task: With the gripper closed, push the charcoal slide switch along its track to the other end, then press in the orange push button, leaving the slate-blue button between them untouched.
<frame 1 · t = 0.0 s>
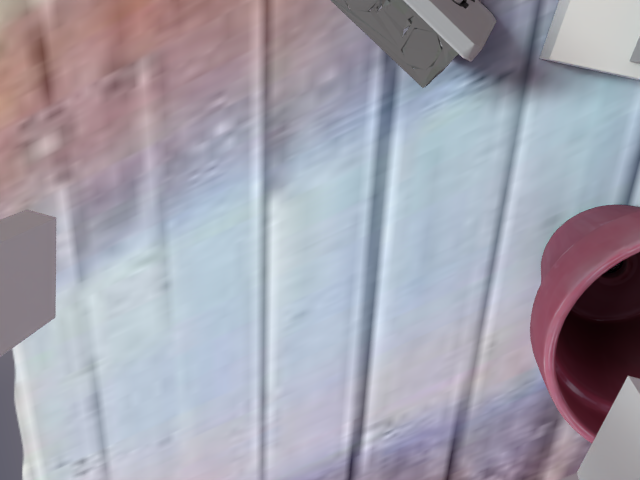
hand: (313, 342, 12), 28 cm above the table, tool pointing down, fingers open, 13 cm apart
plant pot: (606, 262, 38), on the table
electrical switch: (419, 7, 34), on the table
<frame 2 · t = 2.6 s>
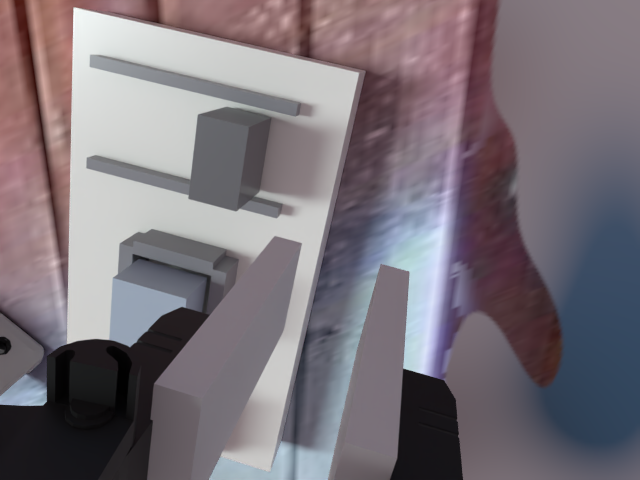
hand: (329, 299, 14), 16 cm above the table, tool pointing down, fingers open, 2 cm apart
slide switch: (231, 156, 25), point 5 cm above the table, slide at 0.0 cm
switch panel: (205, 252, 33), on the table
grey button: (158, 310, 28), point 6 cm above the table, slide at 0.0 cm
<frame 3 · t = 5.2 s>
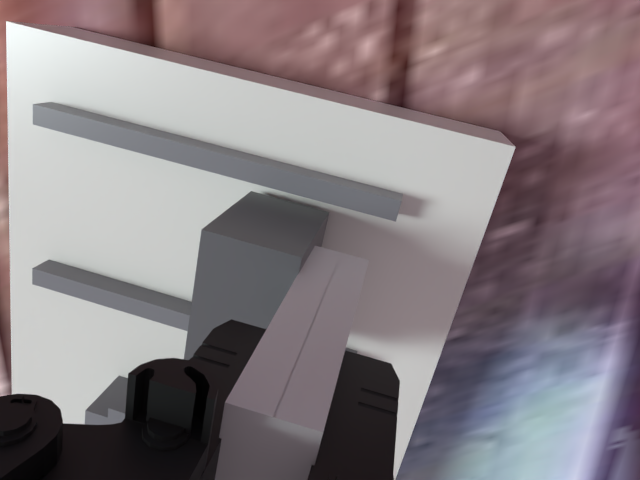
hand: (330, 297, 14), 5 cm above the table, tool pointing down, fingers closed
slide switch: (260, 287, 14), point 5 cm above the table, slide at 0.6 cm, touching gripper
switch panel: (221, 388, 22), on the table
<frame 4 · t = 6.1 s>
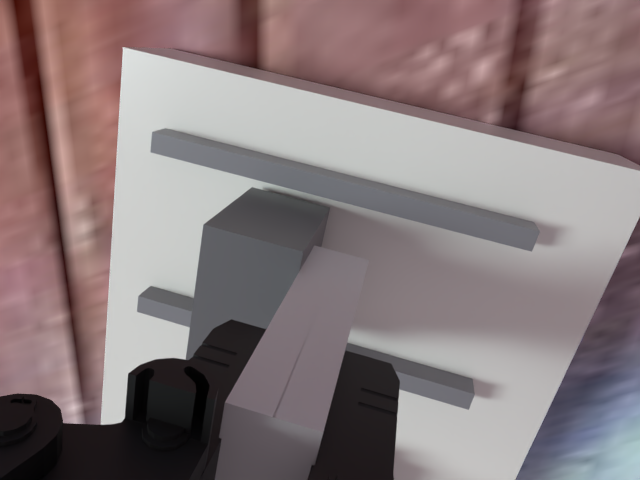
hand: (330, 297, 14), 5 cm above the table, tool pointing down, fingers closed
slide switch: (261, 282, 14), point 5 cm above the table, slide at 4.3 cm, touching gripper
switch panel: (306, 410, 22), on the table
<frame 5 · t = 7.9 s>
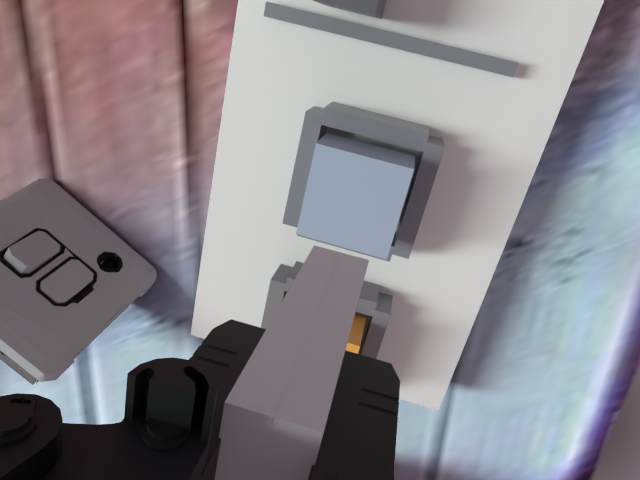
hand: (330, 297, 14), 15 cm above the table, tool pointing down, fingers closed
switch panel: (374, 145, 27), on the table
orange button: (314, 353, 25), point 6 cm above the table, slide at 0.0 cm
grey button: (356, 194, 22), point 6 cm above the table, slide at 0.0 cm
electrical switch: (91, 252, 33), on the table
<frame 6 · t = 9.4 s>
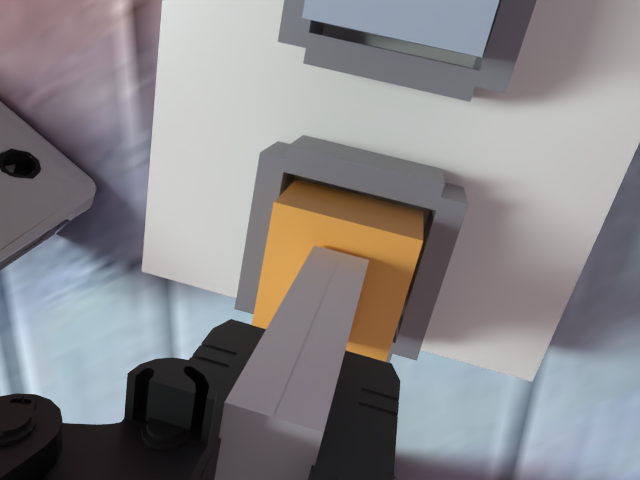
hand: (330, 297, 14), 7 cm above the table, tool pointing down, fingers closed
orange button: (338, 269, 15), point 6 cm above the table, slide at 0.5 cm, touching gripper
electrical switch: (5, 163, 23), on the table
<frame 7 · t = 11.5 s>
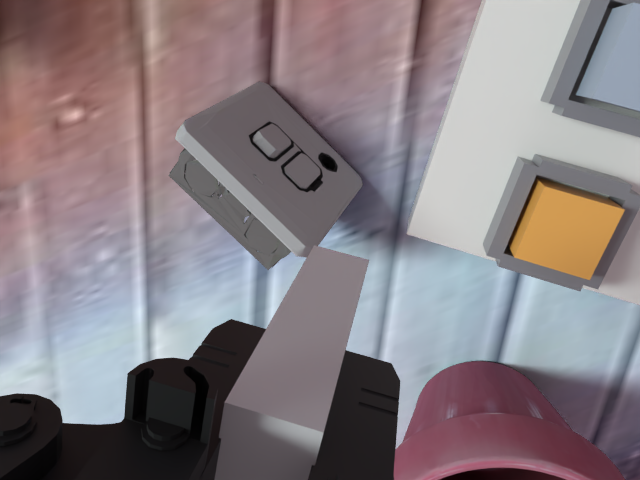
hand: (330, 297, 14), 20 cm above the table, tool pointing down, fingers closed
plant pot: (480, 412, 38), on the table
switch panel: (610, 45, 28), on the table
orange button: (561, 226, 27), point 5 cm above the table, slide at 1.3 cm
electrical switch: (292, 161, 34), on the table
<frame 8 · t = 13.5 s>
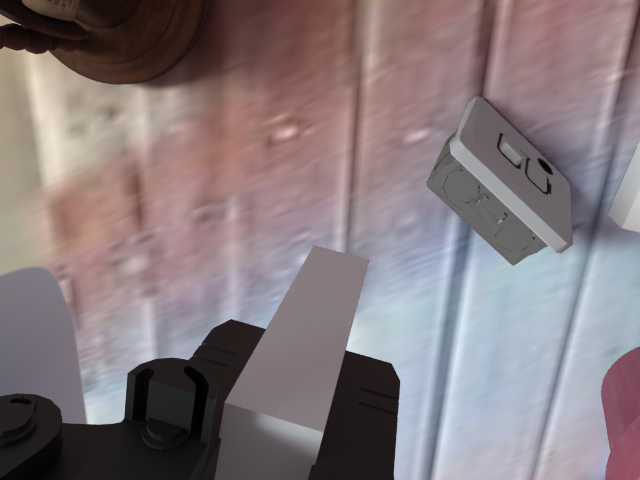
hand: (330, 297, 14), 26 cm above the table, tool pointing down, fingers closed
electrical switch: (496, 166, 38), on the table
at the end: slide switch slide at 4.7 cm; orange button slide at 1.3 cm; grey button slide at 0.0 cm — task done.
